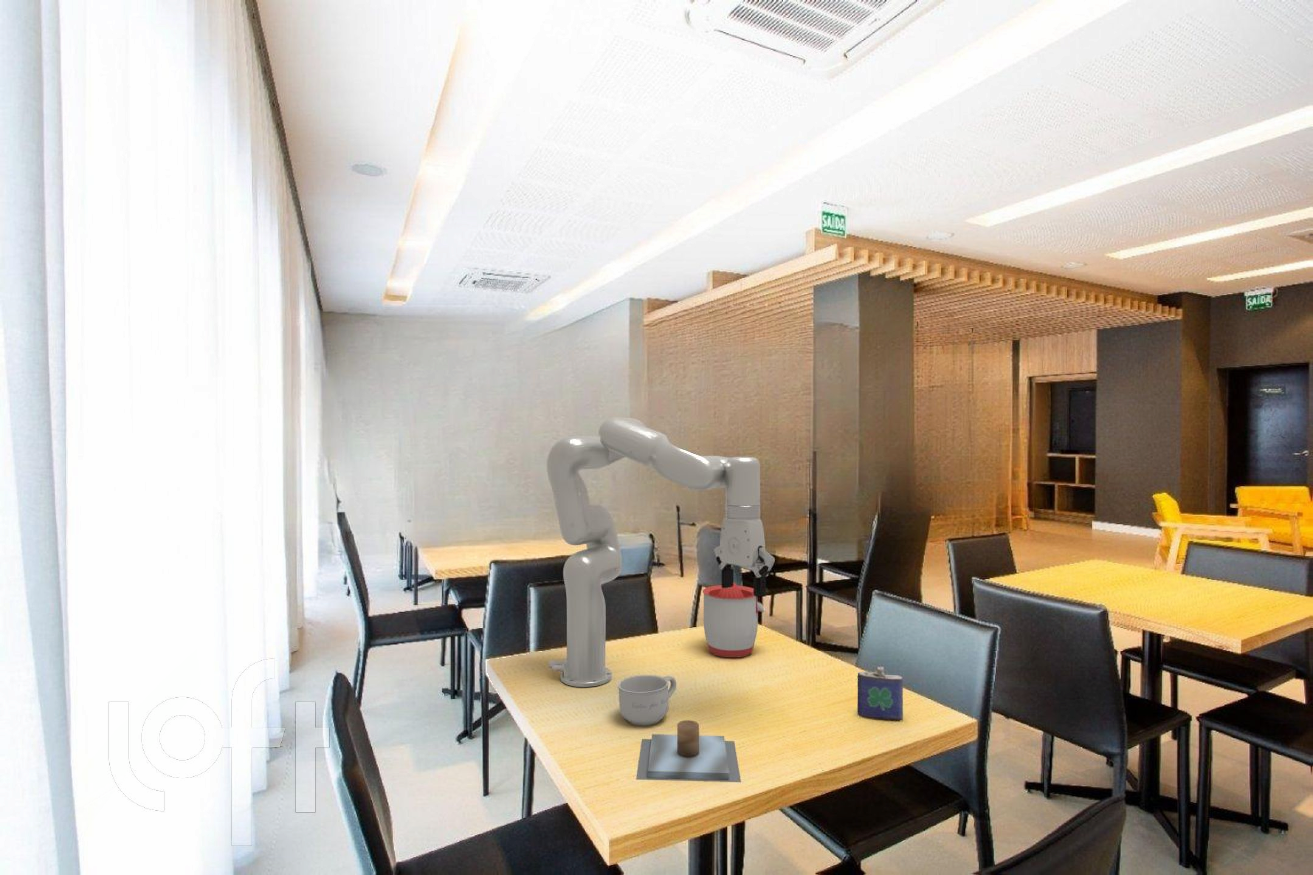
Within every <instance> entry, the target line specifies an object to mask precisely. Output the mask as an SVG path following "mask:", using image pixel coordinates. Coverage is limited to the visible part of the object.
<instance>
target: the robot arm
mask: <svg viewBox="0 0 1313 875" xmlns="http://www.w3.org/2000/svg"><path fill="white" fill-rule="evenodd" d="M597 434H598V435H571V436H566V437H563V438H561V439H559V440H558V441H557V442H556V443H555V444H554V445H553V446H552V447H551V449H550V451H549V453H548V456H547V459H546V472H547V477H548V481H549V483H550V487H551V491H552V495H553V500H554V506H555V511H556V515H557V520H558V525H559V531H560V533H561V536H562V539H563V540H564V542H566V544H568V545H570V546H583V545H586V549H582V550H578V551H577V552H575V553H572V555H570V556H568V558H567V559H566V561H565V563H564V565H563V570H562V571H563V572H562V576H563V582H564V587H565V593H566V658H563V659H561V660H559V659H550V660H549V665H548V666H549V669H552V671H555V672H556V671H561V672H560V681H561V682H562V683H563V684H565V685H567V686H571V687H576V688H577V687H578V688H591V687H597V686H600V685H601V686H602V685H604V684H606V683H608V682H609V681H611V679H612V677H613V674H612V671H611V669H609V668H608V667H606V619H607V618H606V614H607V613H606V599H605V597H604V596H605V595H604V594H603V593H604V592H603V590H602V585H604V584H606V583H607V584H608V583H610V582H612V581H614V580H615V579H616V578H618V577H619V575H620V574H621V571H622V567H623V558H622V557H623V556H622V553H621V551H622V550H621V548H620V543H619V536H618V532H617V528H616V524H615V521H614V518H613V516H612V514H611V513H610V511H609V510H608V509H607V508H606V507H604V506H603V505H600V504H594V503H593V504H591V501H590V498H589V491H588V488H587V485H586V483H585V481H584V480H583V478H582V476H581V474H580V471H581V470H595V469H596V470H597V469H601V468H604V467H607V466H610V465H611V464H614V463H615V462H617V461H620V460H622V459H624V458H626V459H629V460H632V461H634V462H636V463H638V464H641V465H644V466H646V467H648V468H650V469H651V470H652V471H653V472H655V473H657V474H658V475H659V476H660V477H661V476H662V477H663V478H664V479H666V480H669V481H671V482H673V483H676V484H678V485H680V486H682V487H684V488H688V489H691V490H694V491H697V492H698V491H699V492H700V491H704V492H705V491H708V490H709V491H710V490H715V489H722V488H725V506H724V508H723V510H724V512H725V517H724V518H722V519H723V520H722V523H721V528H720V536H719V545H718V546H716V547H714V548H713V553H714V554H715V557H716V559H715V560H716V562H717V563H718V565H719V566H718V567H719V570H721V571H720V572H721V574H720V575H721V585H722V588H728V587H732V586H733V585H734V584H733V582H734V568H732V567H733V566H736V567H740V568H746V569H747V568H748V569H749V568H751V569H752V570H751V571H752V572H753V573H754V575H755V576H753V580H752V581H753V584H752V586H753V589H754V596H757V597H760V596H764V595H766V593H767V592H766V591H767V588H766V587H767V586H766V585H767V584H766V582H767V579H766V577H768V576H769V573H770V572H772V569H773V566H774V565H775V562H776V561H775V560H776V559H775V557H774V556H773V555H772V554H770V553H769V552H768V551H767V550H766V541H765V540H766V539H765V532H764V531H765V530H764V526H763V520H761V464H760V461H759V459H758V458H756V457H752V456H733V457H732V456H731V457H728V456H727V457H726V456H722V455H721V456H720V455H698V454H695V453H692V452H690V451H688V450H684V449H682V448H680V447H678V446H675V445H673V443H671V442H670V441H669V439H668V436H667V435H666V434H664V433H662V432H660V431H657V430H654V429H652V428H649V427H646V426H645V424H644V423H643V422H642V421H641V420H639V419H637V418H634V417H624V416H623V417H621V416H613V417H610V418H607V419H606V420H604V421H603V422H602V424H600V426H599V428H598V433H597Z"/></svg>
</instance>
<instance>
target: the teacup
mask: <svg viewBox="0 0 1313 875" xmlns="http://www.w3.org/2000/svg"><path fill="white" fill-rule="evenodd" d="M669 685H670V686H669ZM617 688H618V702H619V705H618V706H619V711H620V714H621V716H622V718H624V719H625V720H626V721H628V722H629V723H630V724H633V725H636V726H651V725H655V724H657V723H658V722H660V721H661V720H662V719H663V718H664V717H665V716H666V715H667V713H668V709H669V705H670V704H669V700H670V698H671V697H672V696H673V695H674V693H675V691H676V689H677V681H676V678H675V677H673V676H671V675H665V676H664V677H663V676H660V675H656V674H655V675H654V674H641V675H640V674H639V675H632V676H629V677H625V678H623V679H621V680H620V681H619V682H618V683H617Z"/></svg>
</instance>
